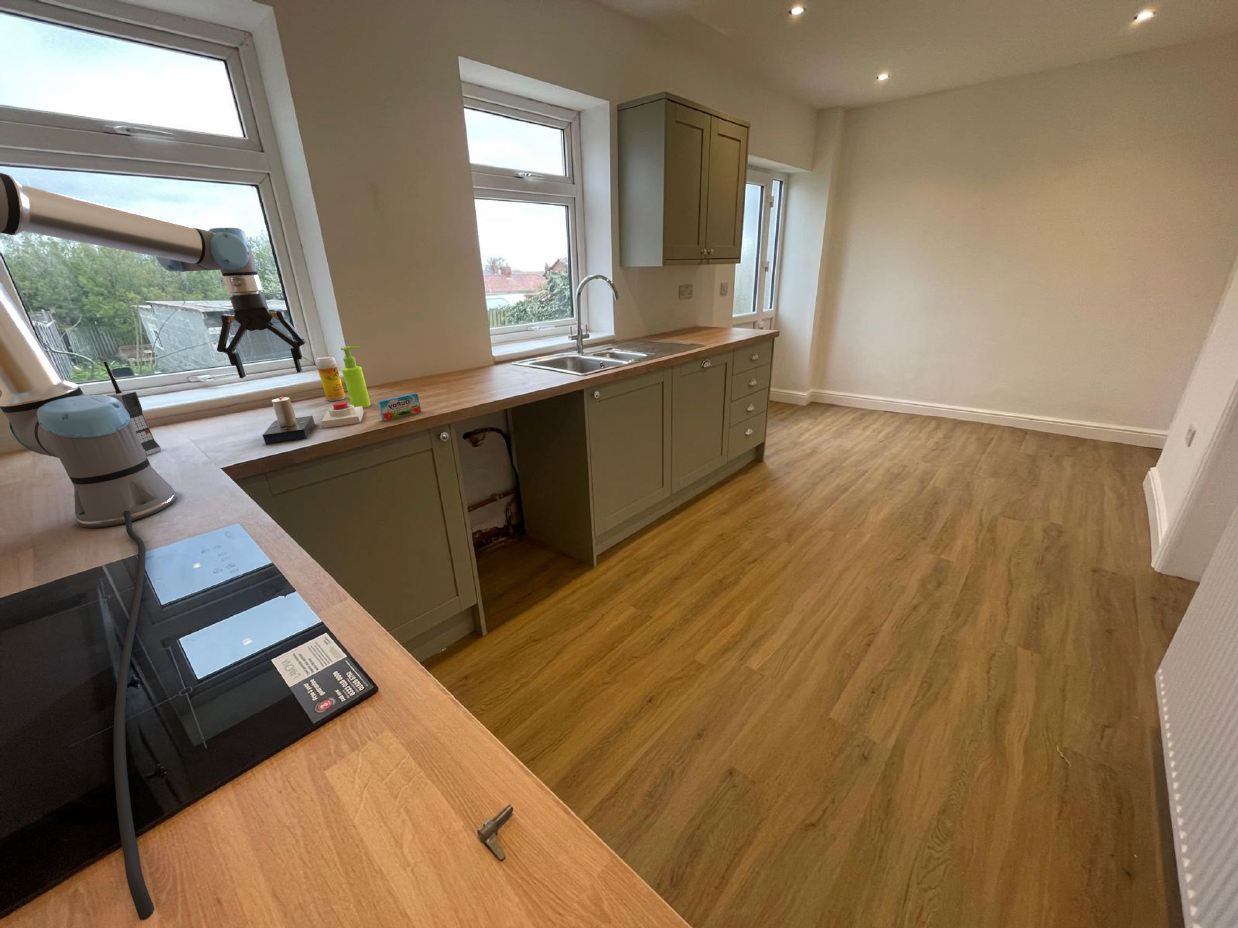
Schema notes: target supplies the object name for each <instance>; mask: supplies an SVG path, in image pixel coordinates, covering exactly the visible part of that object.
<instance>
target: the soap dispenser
mask: <svg viewBox="0 0 1238 928" xmlns="http://www.w3.org/2000/svg"><path fill="white" fill-rule="evenodd" d="M359 348H360V346H359V345H348V346H347V345H346V346H343V347H341V348H340V350H341V351H344V357H342V359H343V363H344V367H343V368H342V369H341V373H342V376H343V380H344V384H345V388H346V391H347V394H348V395H347V396H348V398H349V402H350V405H354V407H359V406H362V408H363V409H365V408H368V407H370V406H371V405H372V404H371V400H370V397H369V392H368V388H367V384H366V379H365V376H364V372H363V369H362V366H360V365H357V361H356V357H355V356H353V355H352V353H351V349H352V350H353V349H359Z"/></svg>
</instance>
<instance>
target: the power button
mask: <svg viewBox="0 0 1238 928" xmlns="http://www.w3.org/2000/svg"><path fill="white" fill-rule="evenodd" d="M348 405H349V403H348V402H347V401H339V402H338V401H337V402H335V403H332V407H334V410H342V409H346V408H349V407H348Z"/></svg>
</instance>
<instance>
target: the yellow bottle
mask: <svg viewBox="0 0 1238 928" xmlns="http://www.w3.org/2000/svg"><path fill="white" fill-rule="evenodd" d="M315 365H316V367H317V371H318V375H319V378H320V381H321V386H322V389H323V392H324V395H325V399H326V400H328V402H338V401H342V400H344V399H345V397H346V393H345V389H344V386H343V382H342V379H341V375H340V371H339V367H338V364H337V361H336V358H335V357H334V356H333V355H326V356H320V357H316V360H315Z"/></svg>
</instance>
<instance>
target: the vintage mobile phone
mask: <svg viewBox="0 0 1238 928" xmlns="http://www.w3.org/2000/svg"><path fill="white" fill-rule="evenodd" d="M102 363H103V365H104V367H105V369H106V372H107V374H108V376H109V378H110V381H111V385H112V387H113V388H114V390H115V392H113V393H109V394H106V396H110V397H113V398H116V399H117V400H119V401H120V402H121V403H122V404H123V406H124V408H125V409H126V410H127V412H128V413H129V415H130V420H131V422H132V424H133V427H134V429H135V431H136V433H137V436H138V438H139V440H140V442H141V445H142V447H143V449H144V451H145V454H146V456H150V455H153V454H156V453H158V452H161V451H162V448H161V446H160V445H159V443H158V442H157V441H156V440H155V437H154V436H153V433H152V431H151V429H150V426H149V425H148V422H147V419H146V417H145V415H144V413H143V407H142V404H141V402H140V399H139V395H138V394H137V392H136V391H129V390H128V391H122V390H121V389H120V387H119V384H118V382H117V379H115V377H114V375H113V372H112V371H111V369H110V366H109V364H108V362H107V361H103V362H102Z"/></svg>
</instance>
